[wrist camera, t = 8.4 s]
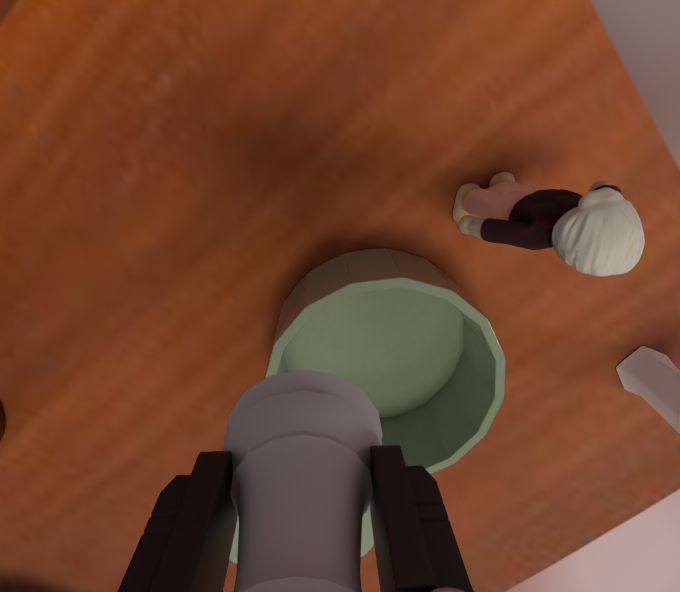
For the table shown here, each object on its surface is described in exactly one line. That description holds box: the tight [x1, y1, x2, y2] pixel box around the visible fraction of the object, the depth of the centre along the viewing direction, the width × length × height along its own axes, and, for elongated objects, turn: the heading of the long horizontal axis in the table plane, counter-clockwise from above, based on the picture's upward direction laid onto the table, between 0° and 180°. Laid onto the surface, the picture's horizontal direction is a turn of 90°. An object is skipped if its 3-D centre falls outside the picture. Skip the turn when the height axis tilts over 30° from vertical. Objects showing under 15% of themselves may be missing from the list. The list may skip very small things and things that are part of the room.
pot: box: [264, 248, 506, 474], centre depth 28 cm, size 14×14×6 cm
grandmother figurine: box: [453, 172, 645, 276], centre depth 21 cm, size 8×4×13 cm, turn 116°
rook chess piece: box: [223, 369, 383, 592], centre depth 9 cm, size 4×4×8 cm
